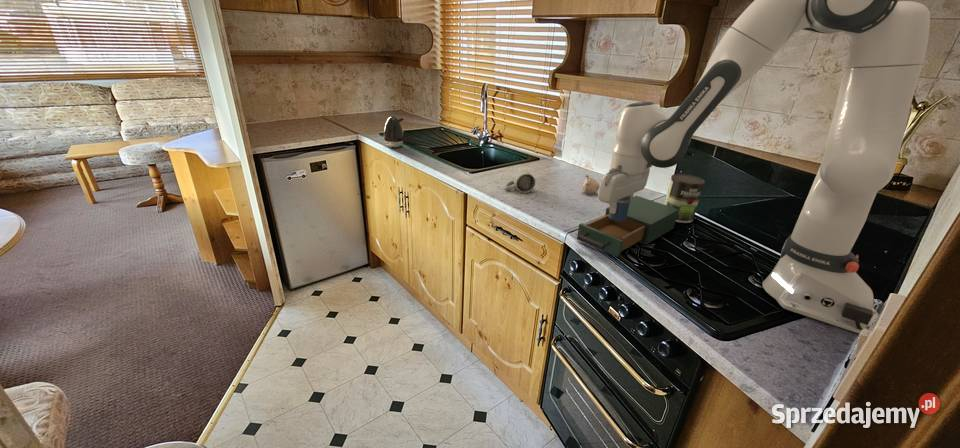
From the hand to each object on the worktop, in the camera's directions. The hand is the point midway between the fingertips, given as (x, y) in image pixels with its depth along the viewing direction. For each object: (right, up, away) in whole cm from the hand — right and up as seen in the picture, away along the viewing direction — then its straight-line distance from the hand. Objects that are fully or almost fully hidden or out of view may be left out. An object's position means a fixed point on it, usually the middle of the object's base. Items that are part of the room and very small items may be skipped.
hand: (619, 209), depth 116 cm
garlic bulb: (+3, +8, +42) cm, 43 cm away
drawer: (-2, -9, +3) cm, 10 cm away
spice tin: (0, -2, +1) cm, 2 cm away
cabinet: (+12, -5, +15) cm, 20 cm away
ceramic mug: (-25, +9, +42) cm, 50 cm away
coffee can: (+29, -2, +25) cm, 38 cm away
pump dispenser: (-84, +36, +92) cm, 130 cm away
